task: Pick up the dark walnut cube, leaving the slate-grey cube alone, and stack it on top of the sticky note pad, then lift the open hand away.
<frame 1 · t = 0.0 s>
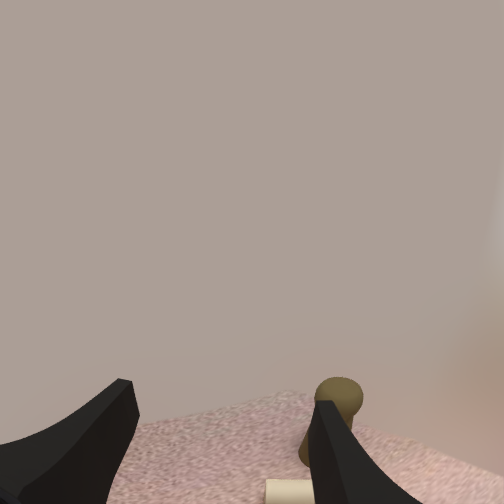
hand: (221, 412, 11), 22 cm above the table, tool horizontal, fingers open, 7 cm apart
olive round-headed peg: (322, 454, 32), on the table
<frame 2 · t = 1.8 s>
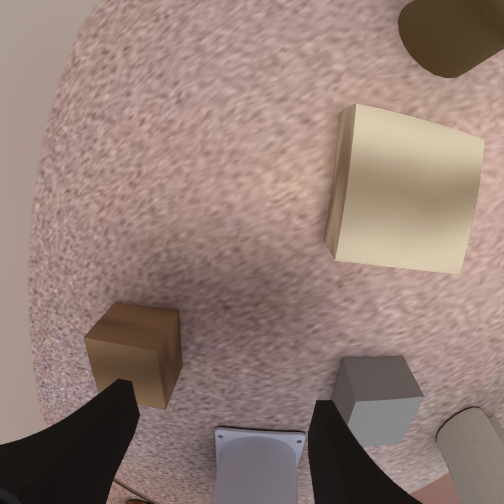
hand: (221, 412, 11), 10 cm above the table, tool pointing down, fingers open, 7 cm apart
walnut cube: (149, 335, 23), on the table
paper towel roll: (461, 425, 25), on the table
slate cube: (366, 380, 23), on the table
olive round-headed peg: (436, 38, 15), on the table
sticky note pad: (392, 186, 19), on the table
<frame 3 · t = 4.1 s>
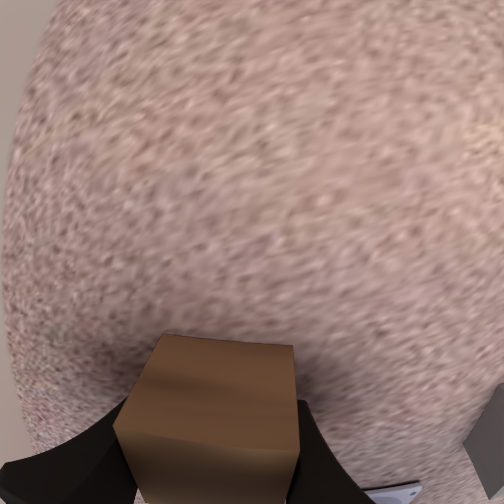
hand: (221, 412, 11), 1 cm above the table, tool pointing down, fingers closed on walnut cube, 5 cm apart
walnut cube: (225, 388, 13), on the table, touching gripper
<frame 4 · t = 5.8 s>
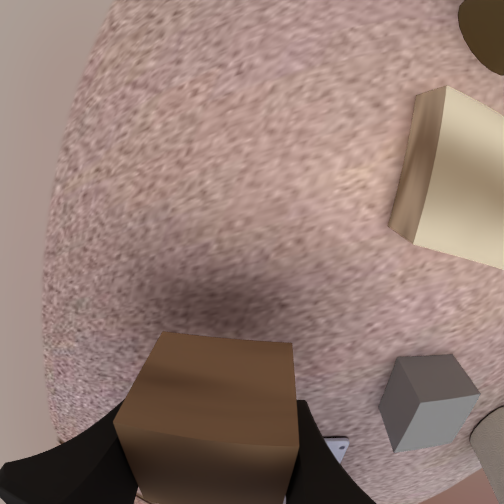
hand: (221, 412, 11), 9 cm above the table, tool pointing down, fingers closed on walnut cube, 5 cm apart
walnut cube: (225, 386, 13), point 7 cm above the table, touching gripper
paper towel roll: (492, 424, 23), on the table
slate cube: (415, 381, 21), on the table
olive round-headed peg: (490, 36, 13), on the table
sticky note pad: (455, 179, 16), on the table
when the fingers open (6 cm above the table, at t = 7.9 s): walnut cube drops 1 cm, resting on sticky note pad.
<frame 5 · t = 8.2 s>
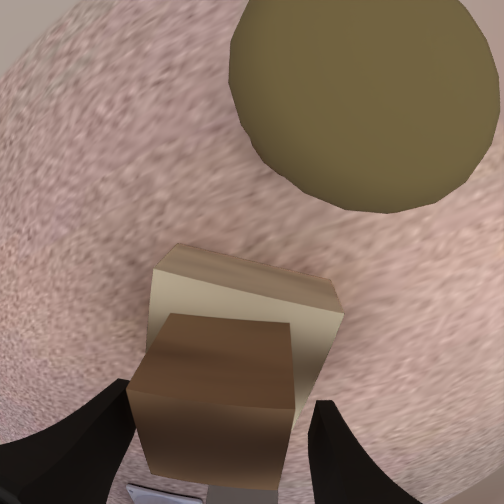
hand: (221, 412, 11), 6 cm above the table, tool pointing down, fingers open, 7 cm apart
walnut cube: (228, 365, 14), point 4 cm above the table, touching sticky note pad
slate cube: (245, 473, 22), on the table
olive round-headed peg: (311, 120, 14), on the table
sticky note pad: (238, 325, 18), on the table, touching walnut cube
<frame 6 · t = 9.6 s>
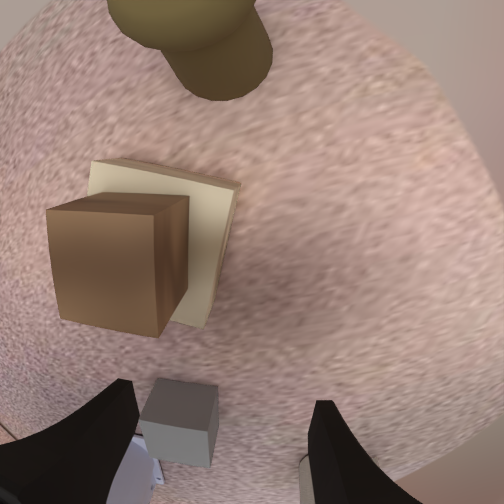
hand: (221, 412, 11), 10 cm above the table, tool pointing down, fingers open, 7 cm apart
walnut cube: (143, 240, 16), point 4 cm above the table
paper towel roll: (332, 461, 27), on the table
slate cube: (189, 402, 25), on the table
olive round-headed peg: (222, 56, 17), on the table
sticky note pad: (167, 229, 20), on the table
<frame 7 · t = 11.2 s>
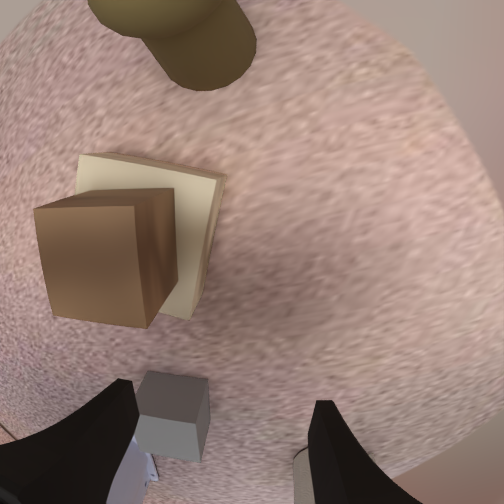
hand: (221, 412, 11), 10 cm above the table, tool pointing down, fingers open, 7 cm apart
walnut cube: (132, 235, 16), point 4 cm above the table, touching sticky note pad
paper towel roll: (327, 458, 26), on the table
slate cube: (180, 396, 24), on the table
olive round-headed peg: (207, 47, 16), on the table
sticky note pad: (155, 221, 20), on the table, touching walnut cube
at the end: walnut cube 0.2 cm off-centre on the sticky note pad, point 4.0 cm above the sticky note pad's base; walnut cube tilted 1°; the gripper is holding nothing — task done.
